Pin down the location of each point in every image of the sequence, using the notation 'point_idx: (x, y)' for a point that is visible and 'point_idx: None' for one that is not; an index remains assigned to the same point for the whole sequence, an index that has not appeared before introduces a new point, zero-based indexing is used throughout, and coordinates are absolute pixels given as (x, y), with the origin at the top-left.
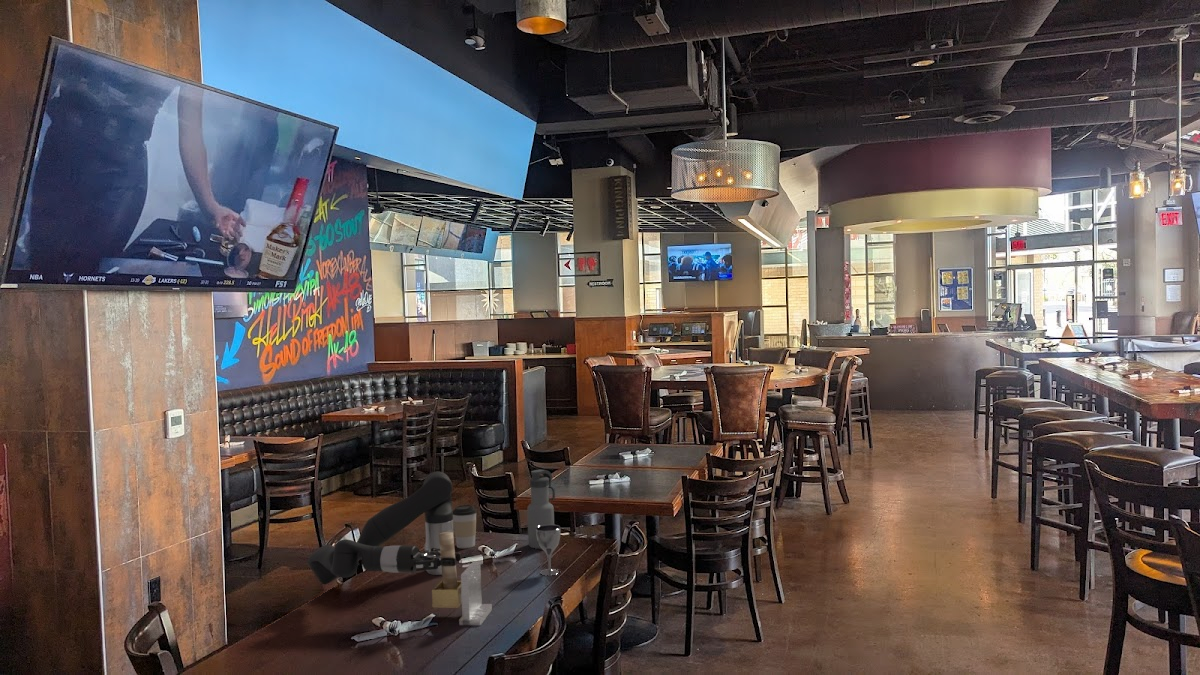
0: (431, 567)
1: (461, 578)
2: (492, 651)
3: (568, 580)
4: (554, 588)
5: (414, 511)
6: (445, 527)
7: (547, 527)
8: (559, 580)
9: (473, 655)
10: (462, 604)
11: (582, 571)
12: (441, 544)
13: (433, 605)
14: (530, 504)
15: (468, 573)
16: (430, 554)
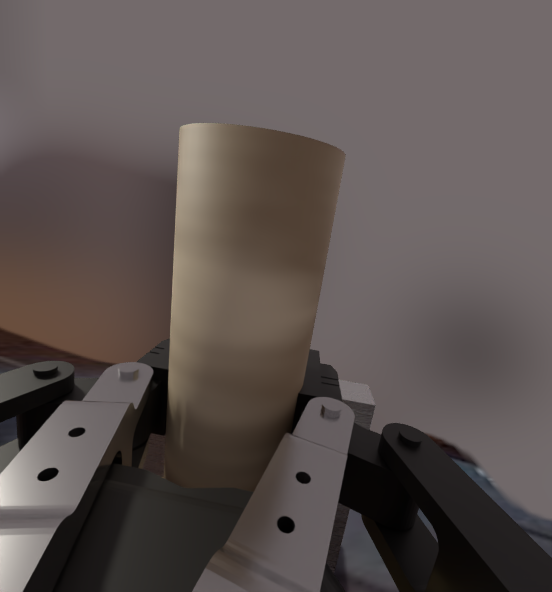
0: (430, 556)
1: (371, 420)
2: (486, 490)
3: (48, 350)
4: (83, 370)
5: None
6: None
7: None
8: (31, 359)
9: (545, 538)
10: (342, 534)
11: (9, 332)
12: (318, 265)
13: None
14: None
15: (346, 382)
16: (103, 533)
